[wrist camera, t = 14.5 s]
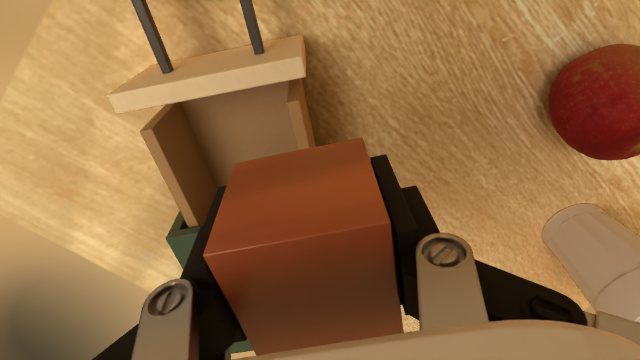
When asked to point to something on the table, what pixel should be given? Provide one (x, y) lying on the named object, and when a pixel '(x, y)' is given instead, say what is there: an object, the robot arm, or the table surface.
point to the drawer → (218, 110)
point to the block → (306, 249)
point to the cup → (598, 257)
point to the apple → (600, 103)
